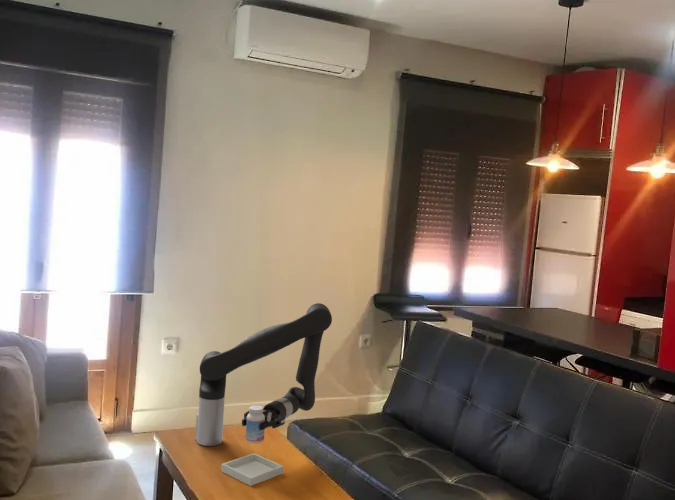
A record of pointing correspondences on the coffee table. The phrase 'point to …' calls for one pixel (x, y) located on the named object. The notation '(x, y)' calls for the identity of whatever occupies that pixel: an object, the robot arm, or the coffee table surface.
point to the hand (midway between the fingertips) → (251, 425)
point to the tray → (252, 469)
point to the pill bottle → (254, 425)
